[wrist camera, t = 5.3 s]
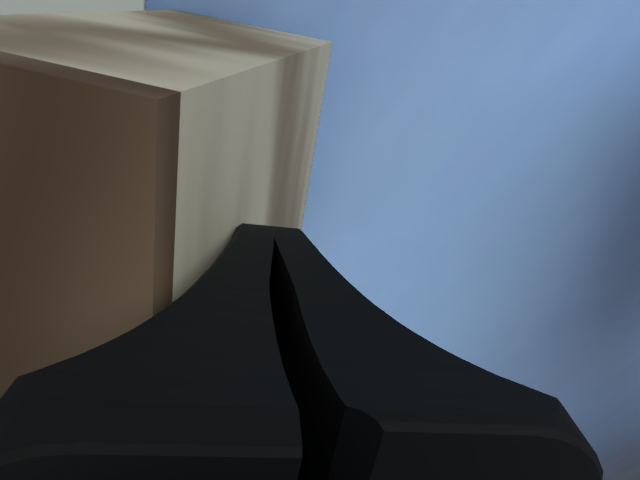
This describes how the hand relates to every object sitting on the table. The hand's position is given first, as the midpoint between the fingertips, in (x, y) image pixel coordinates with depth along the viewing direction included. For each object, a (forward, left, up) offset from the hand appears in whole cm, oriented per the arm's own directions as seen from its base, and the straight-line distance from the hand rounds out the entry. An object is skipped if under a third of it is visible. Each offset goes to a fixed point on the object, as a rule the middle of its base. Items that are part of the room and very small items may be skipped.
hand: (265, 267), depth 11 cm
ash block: (+1, 0, -7) cm, 7 cm away
